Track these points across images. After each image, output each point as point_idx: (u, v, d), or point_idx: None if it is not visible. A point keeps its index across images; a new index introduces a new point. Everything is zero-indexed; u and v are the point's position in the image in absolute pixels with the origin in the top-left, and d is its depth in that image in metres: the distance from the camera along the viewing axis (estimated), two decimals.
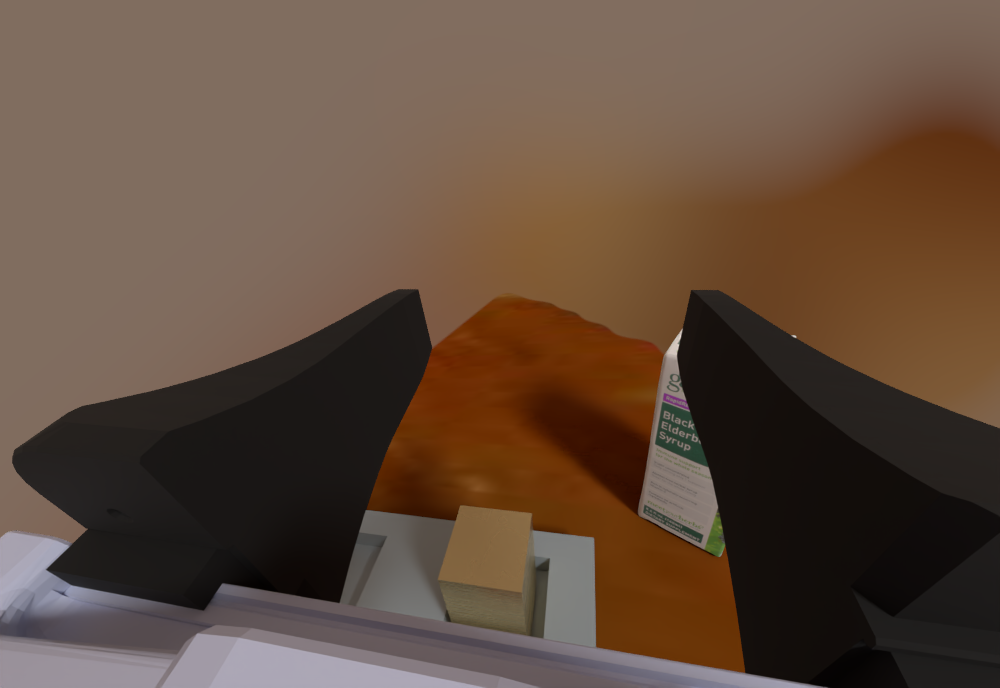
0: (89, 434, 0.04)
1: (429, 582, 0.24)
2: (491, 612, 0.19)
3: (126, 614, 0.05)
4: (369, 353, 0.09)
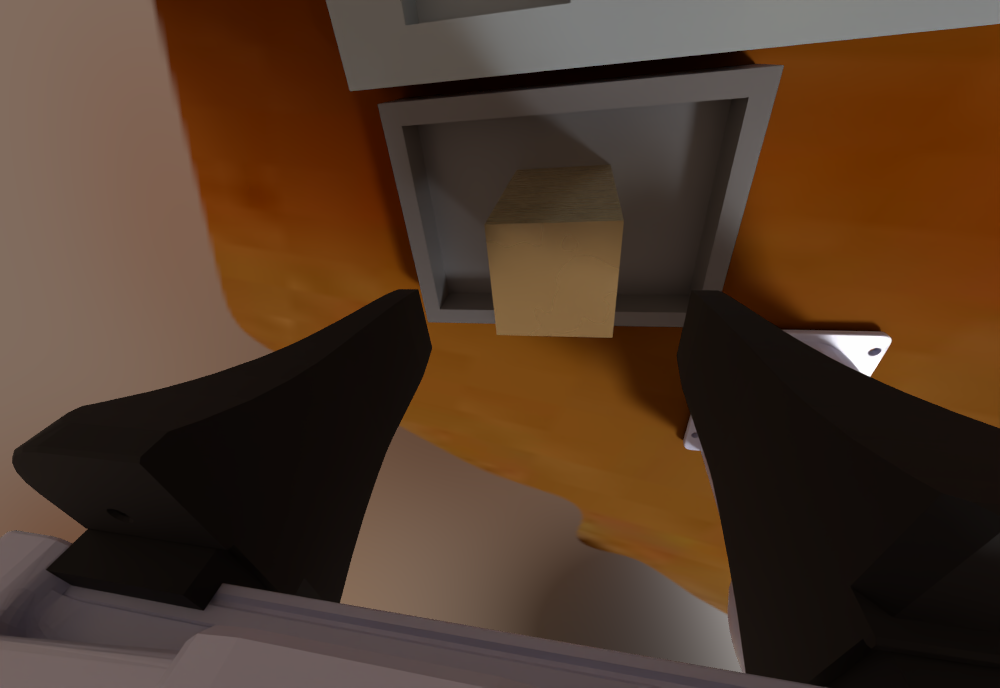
0: (89, 434, 0.04)
1: None
2: None
3: (126, 614, 0.05)
4: (368, 353, 0.09)
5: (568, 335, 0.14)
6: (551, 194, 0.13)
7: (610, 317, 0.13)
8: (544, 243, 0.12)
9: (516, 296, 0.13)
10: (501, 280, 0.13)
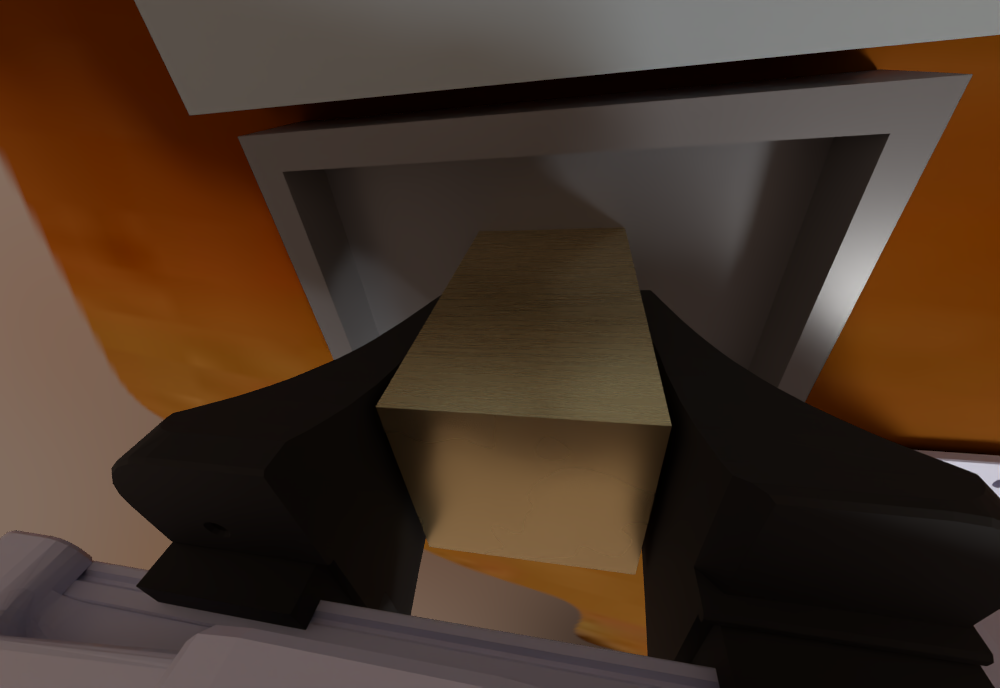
0: (199, 445, 0.04)
1: None
2: None
3: None
4: None
5: (555, 559, 0.08)
6: (524, 306, 0.07)
7: (633, 551, 0.07)
8: (500, 444, 0.06)
9: (455, 507, 0.07)
10: (424, 485, 0.07)
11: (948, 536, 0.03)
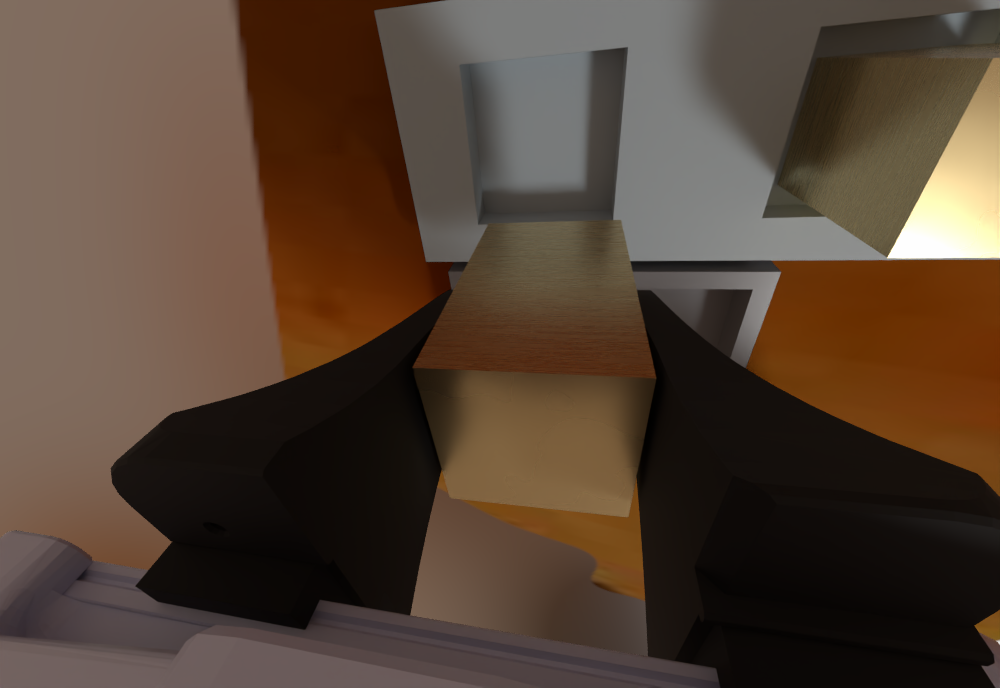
0: (198, 444, 0.04)
1: (741, 126, 0.13)
2: None
3: None
4: None
5: (559, 506, 0.09)
6: (532, 288, 0.09)
7: (626, 495, 0.08)
8: (516, 398, 0.07)
9: (475, 458, 0.08)
10: (449, 438, 0.08)
11: (949, 536, 0.03)
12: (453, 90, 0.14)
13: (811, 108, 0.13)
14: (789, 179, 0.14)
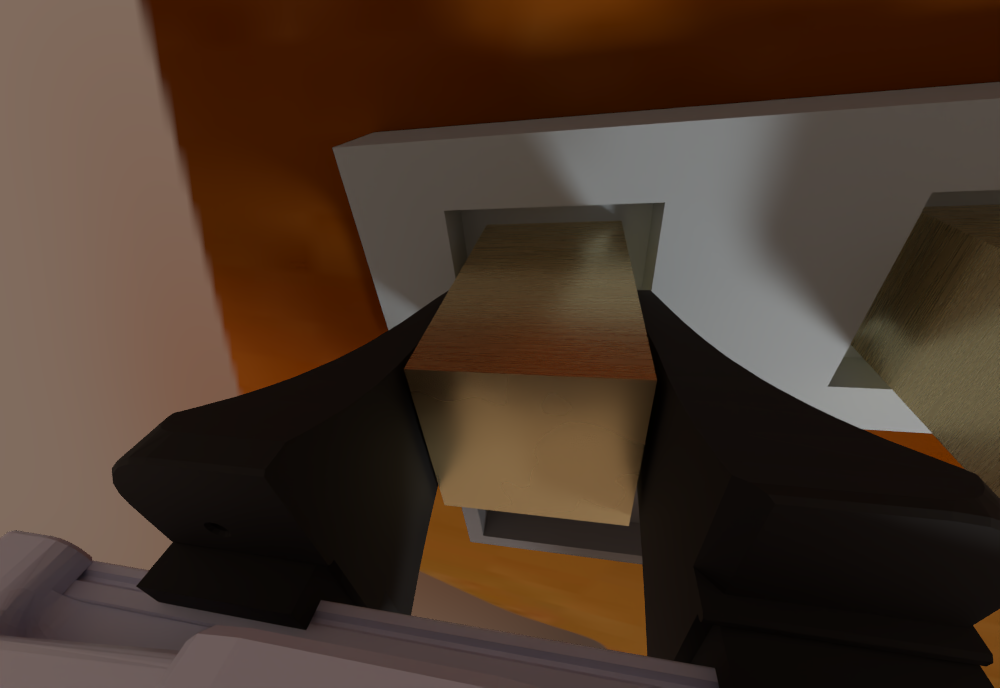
0: (200, 445, 0.04)
1: (810, 293, 0.10)
2: None
3: None
4: None
5: (557, 514, 0.08)
6: (530, 288, 0.08)
7: (626, 502, 0.08)
8: (510, 401, 0.07)
9: (469, 463, 0.08)
10: (443, 443, 0.07)
11: (947, 536, 0.03)
12: (437, 237, 0.11)
13: (900, 269, 0.10)
14: (863, 342, 0.11)
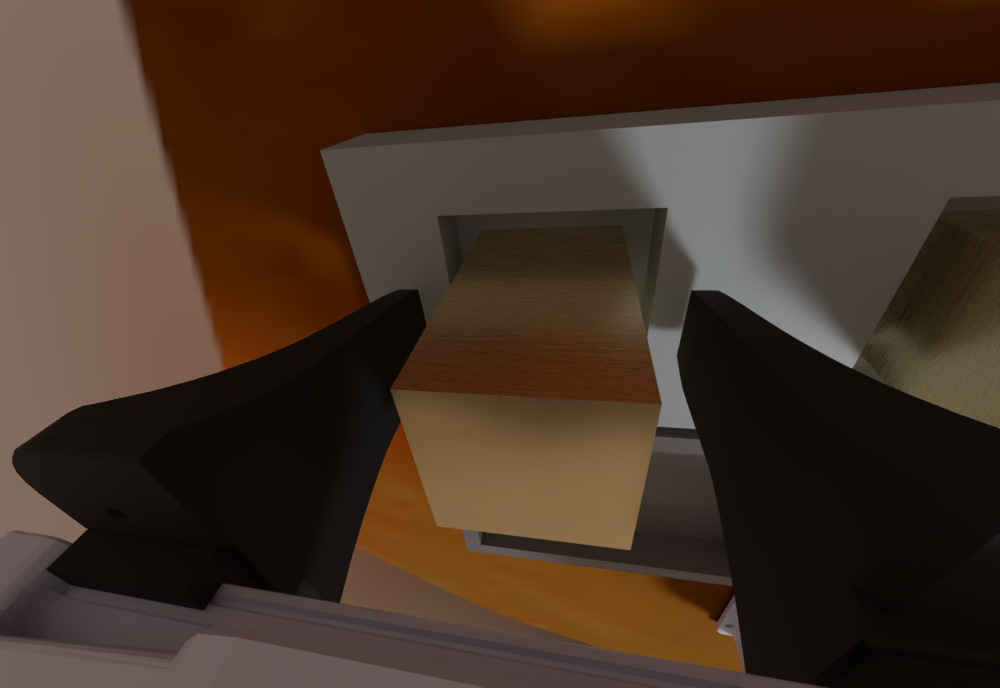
0: (89, 434, 0.04)
1: (819, 302, 0.10)
2: None
3: (126, 614, 0.05)
4: (369, 353, 0.09)
5: (555, 536, 0.08)
6: (526, 299, 0.08)
7: (628, 527, 0.07)
8: (505, 423, 0.06)
9: (462, 486, 0.07)
10: (434, 465, 0.07)
11: None
12: (430, 243, 0.10)
13: (913, 276, 0.10)
14: (873, 352, 0.11)
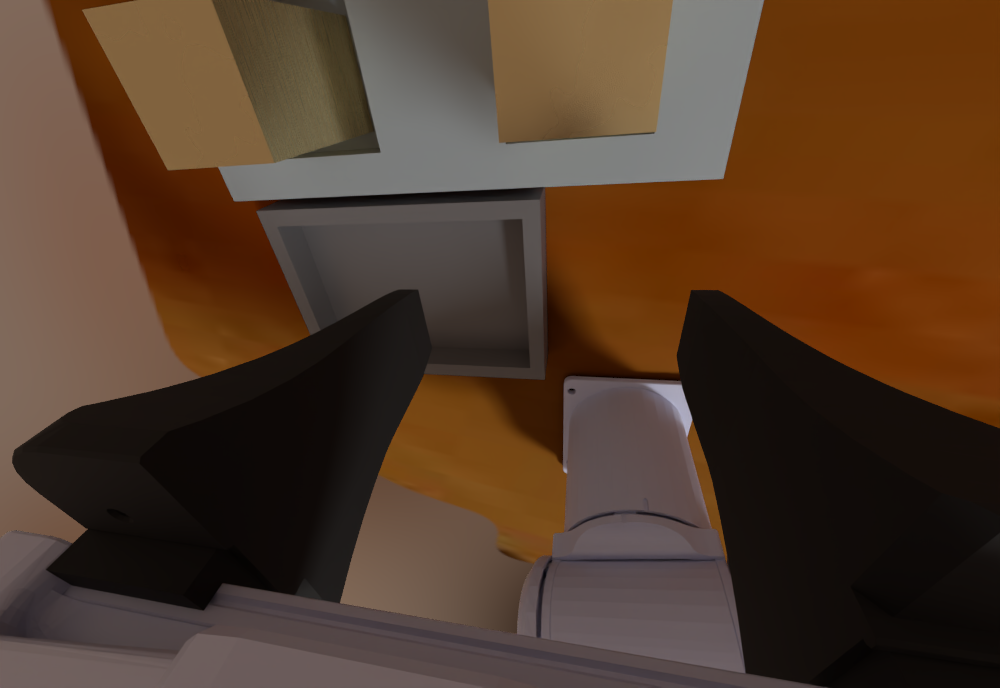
0: (89, 434, 0.04)
1: (458, 50, 0.14)
2: None
3: (126, 614, 0.05)
4: (368, 353, 0.09)
5: (235, 165, 0.12)
6: None
7: (259, 133, 0.11)
8: (149, 30, 0.10)
9: (159, 111, 0.12)
10: (135, 90, 0.11)
11: None
12: None
13: None
14: None
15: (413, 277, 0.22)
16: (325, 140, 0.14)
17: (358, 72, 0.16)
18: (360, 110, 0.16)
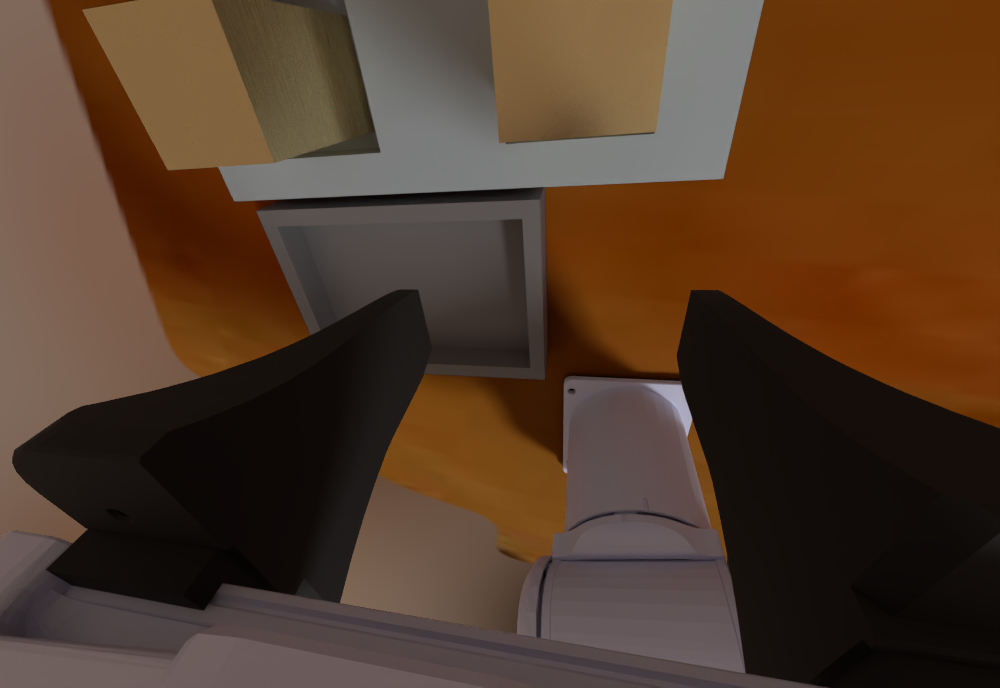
0: (89, 434, 0.04)
1: (458, 50, 0.14)
2: None
3: (126, 614, 0.05)
4: (369, 353, 0.09)
5: (235, 165, 0.12)
6: None
7: (259, 133, 0.11)
8: (149, 30, 0.10)
9: (159, 111, 0.12)
10: (135, 90, 0.11)
11: None
12: None
13: None
14: None
15: (413, 277, 0.22)
16: (325, 140, 0.14)
17: (358, 72, 0.16)
18: (360, 110, 0.16)
